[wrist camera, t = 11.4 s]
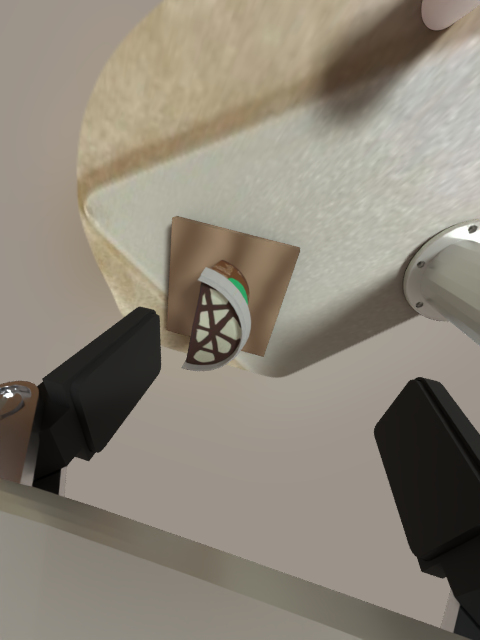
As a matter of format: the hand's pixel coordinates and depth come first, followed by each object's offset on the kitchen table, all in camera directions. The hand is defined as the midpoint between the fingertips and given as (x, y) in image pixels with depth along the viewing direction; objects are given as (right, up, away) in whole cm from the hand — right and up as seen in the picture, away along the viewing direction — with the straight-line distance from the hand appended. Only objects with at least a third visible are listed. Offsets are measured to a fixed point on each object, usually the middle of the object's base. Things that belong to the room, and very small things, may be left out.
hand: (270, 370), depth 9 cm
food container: (-2, +5, +23) cm, 24 cm away
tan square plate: (-3, +7, +26) cm, 27 cm away
